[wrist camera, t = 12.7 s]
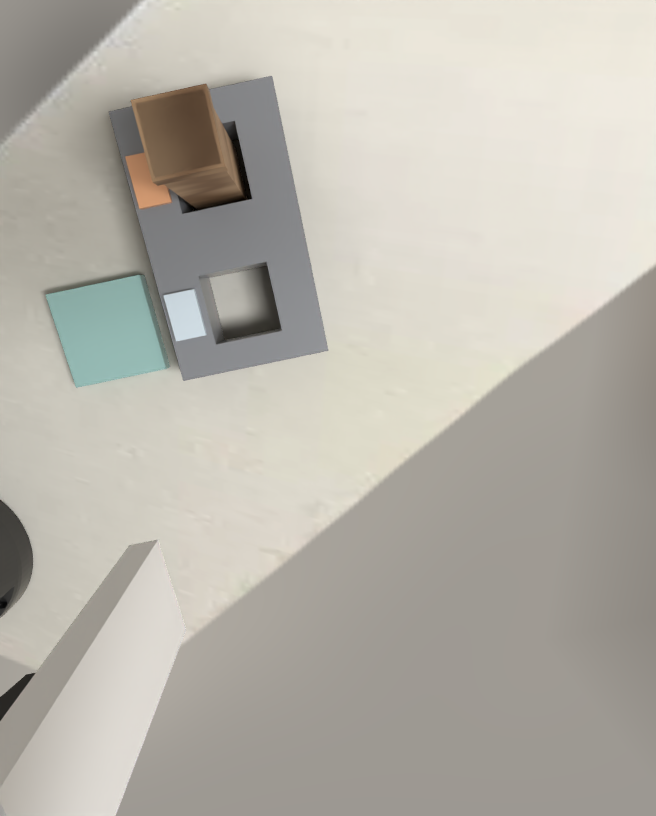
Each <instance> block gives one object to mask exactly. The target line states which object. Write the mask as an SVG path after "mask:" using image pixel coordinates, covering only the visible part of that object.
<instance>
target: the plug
mask: <svg viewBox="0 0 656 816" xmlns="http://www.w3.org/2000/svg"><path fill="white" fill-rule="evenodd" d="M131 103H132V107H133V111H134V115H135V118H136V122H137V126H138V130H139V133H140V137H141V141H142V145H143V148H144V152H145V156H146V160H147V163H148V167H149V171H150V175H151V178H152V182H153V183H155V184H156V185H157V186H159V185H163V184H164V185H165V186H167V187H168V188H169V189H171V190H172V191H173V192H175V193H176V194H177V195H179V196H180V197H181V198H183V199H184V200H185V201H187V202H188V203H190V204H191V205H192V206H194V207H195V208H196V209H198V210H203V209H208V208H213V207H217V206H222V205H227V204H231V203H236V202H241V201H245V200H247V196H246V192H245V187H244V183H243V178H242V174H241V170H240V165H239V161H238V156H237V152H236V149H235V147H234V145H233V143H232V141H231V139H230V138H229V136H228V134H227V132H226V130H225V128H224V126H223V124H222V122H221V121H220V119H219V117H218V115H217V113H216V111H215V109H214V107H213V103H212V99H211V95H210V91H209V89H208V87H207V85H206V84H202V85H198V86H193V87H188V88H184V89H179V90H175V91H170V92H166V93H161V94H157V95H152V96H147V97H143V98H138V99H134V100H131Z"/></svg>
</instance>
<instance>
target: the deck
mask: <svg viewBox="0 0 656 816" xmlns="http://www.w3.org/2000/svg"><path fill="white" fill-rule="evenodd" d="M46 298H47V301H48V304H49V307H50V310H51V313H52V316H53V319H54V322H55V325H56V328H57V331H58V334H59V337H60V340H61V343H62V346H63V349H64V352H65V355H66V358H67V361H68V364H69V367H70V371H71V374H72V377H73V380H74V383H75V386H76V388H77V387H82V386H87V385H91V384H96V383H101V382H106V381H111V380H115V379H120V378H125V377H130V376H134V375H139V374H144V373H149V372H154V371H158V370H163V369H167V368H169V367H170V365H169V361H168V358H167V354H166V350H165V347H164V343H163V340H162V336H161V333H160V329H159V326H158V322H157V319H156V315H155V312H154V308H153V304H152V301H151V297H150V294H149V290H148V287H147V283H146V280H145V276H144V275H136V276H131V277H126V278H122V279H117V280H112V281H107V282H103V283H98V284H93V285H89V286H84V287H79V288H75V289H70V290H65V291H61V292H56V293H51V294H46Z"/></svg>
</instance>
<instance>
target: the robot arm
mask: <svg viewBox="0 0 656 816" xmlns="http://www.w3.org/2000/svg"><path fill="white" fill-rule="evenodd" d="M32 568H33V556H32V549H31V545H30V541H29V538H28V536H27V534H26V531H25V529H24V528H23V526H22V524H21V523H20V521H19V520H18V518H17V517H16V516H15V515H14V513H13V512H12V511H11V510H10V509H9V508H8V507H7V506H6V505H5V504H4V503H2V502H1V501H0V618H1V617H2V616H3V615H4V614H5V613H6V612H7V611H8V610H9V609H10V608H11V607H12V606H13V605H14V604H15V603H16V602H17V601H18V600H19V599H20V598H21V596H22V595H23V593H24V592H25V590H26V588H27V586H28V584H29V581H30V578H31V574H32ZM185 632H186V627H185V624H184V621H183V617H182V614H181V611H180V608H179V605H178V602H177V598H176V595H175V592H174V589H173V586H172V582H171V579H170V576H169V573H168V570H167V567H166V563H165V560H164V557H163V554H162V551H161V547H160V544H159V541H158V540H154V541H149V542H144V543H139V544H134V545H129V547H128V548H127V549H126V551H125V552H124V554H123V555H122V556H121V558H120V559H119V560H118V562H117V563H116V564H115V566H114V567H113V569H112V570H111V571H110V573H109V574H108V575H107V577H106V578H105V579H104V581H103V582H102V584H101V585H100V586H99V588H98V589H97V590H96V592H95V593H94V594H93V596H92V597H91V598H90V600H89V601H88V603H87V604H86V605H85V607H84V608H83V609H82V611H81V612H80V613H79V615H78V616H77V618H76V619H75V620H74V622H73V623H72V624H71V626H70V627H69V628H68V630H67V631H66V632H65V634H64V635H63V637H62V638H61V639H60V641H59V642H58V643H57V645H56V646H55V647H54V649H53V650H52V652H51V653H50V654H49V656H48V657H47V658H46V660H45V661H44V662H43V664H42V665H41V667H40V668H39V669H38V671H37V672H36V673H32V674H27V675H25V676H24V677H23V678H22V679H21V680H20V681H18V682H17V683H16V684H15V685H14V686H13V687H12V688H10V689H9V690H8V691H7V692H6V693H5V694H4V695H2V696H1V697H0V816H116V813H117V810H118V808H119V805H120V802H121V800H122V797H123V794H124V792H125V789H126V787H127V784H128V781H129V779H130V776H131V773H132V771H133V768H134V766H135V763H136V760H137V758H138V755H139V752H140V750H141V747H142V745H143V742H144V739H145V737H146V734H147V731H148V729H149V726H150V724H151V721H152V718H153V716H154V713H155V710H156V708H157V705H158V702H159V700H160V697H161V695H162V691H163V689H164V687H165V684H166V681H167V679H168V676H169V674H170V671H171V668H172V666H173V663H174V660H175V658H176V655H177V653H178V650H179V647H180V645H181V642H182V639H183V637H184V634H185Z"/></svg>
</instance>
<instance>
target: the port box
mask: <svg viewBox="0 0 656 816" xmlns="http://www.w3.org/2000/svg"><path fill="white" fill-rule="evenodd" d="M209 91H210V95H211V99H212V103H213V107H214V109H215V111H216V113H217V115H218V117H219V119H220V121H221V122H222V124H223V126H224V128H225V130H226V132H227V134H228V136H229V138H230V139H231V140H236V139H239V142H240V146H241V151H242V155H243V160H244V164H245V168H246V173H247V177H248V182H249V186H250V191H251V195H252V199H250V200H245V201H241V202H236V203H231V204H227V205H222V206H217V207H213V208H208V209H203V210H199V211H194V212H192V209H191V205H190V203H188V202H187V201H185V200H184V199H183V198H181V197H180V196H179V195H177V194H176V193H175V192H173V191H172V190H171V189H169V188H168V187H167V186H165V185H164V184H163V185H159V186H157V185H156V184H155V183H153V182H152V178H151V175H150V171H149V167H148V163H147V160H146V156H145V152H144V148H143V145H142V141H141V137H140V133H139V130H138V126H137V122H136V118H135V115H134V111H133V107H127V108H123V109H118V110H114V111H109V115H110V119H111V122H112V126H113V130H114V133H115V137H116V140H117V144H118V148H119V151H120V155H121V158H122V162H123V166H124V169H125V173H126V176H127V180H128V183H129V187H130V191H131V194H132V198H133V201H134V205H135V209H136V212H137V216H138V219H139V223H140V227H141V230H142V234H143V237H144V241H145V245H146V248H147V252H148V255H149V259H150V263H151V266H152V270H153V273H154V277H155V281H156V284H157V288H158V291H159V295H160V299H161V302H162V306H163V309H164V313H165V317H166V320H167V324H168V327H169V331H170V335H171V338H172V342H173V345H174V349H175V353H176V356H177V360H178V363H179V367H180V370H181V374H182V378H183V381H185V380H190V379H195V378H200V377H205V376H209V375H214V374H219V373H224V372H228V371H233V370H238V369H243V368H248V367H252V366H257V365H262V364H267V363H272V362H276V361H281V360H286V359H291V358H296V357H300V356H305V355H310V354H315V353H320V352H324V351H328V346H327V342H326V337H325V332H324V327H323V322H322V317H321V312H320V307H319V302H318V298H317V293H316V288H315V283H314V278H313V273H312V268H311V263H310V259H309V254H308V249H307V244H306V239H305V234H304V229H303V224H302V220H301V215H300V210H299V205H298V200H297V195H296V190H295V185H294V181H293V176H292V171H291V166H290V161H289V156H288V151H287V146H286V141H285V137H284V132H283V127H282V122H281V117H280V112H279V107H278V102H277V98H276V93H275V88H274V83H273V78H272V76H269V77H264V78H260V79H255V80H250V81H246V82H241V83H237V84H232V85H228V86H223V87H218V88H214V89H209ZM263 266H268V271H269V275H270V280H271V284H272V289H273V293H274V297H275V302H276V306H277V311H278V315H279V320H280V324H281V328H280V329H276V330H271V331H266V332H261V333H257V334H252V335H247V336H242V337H238V338H233V339H228V340H225V339H224V335H223V331H222V327H221V323H220V319H219V315H218V311H217V307H216V303H215V299H214V296H213V292H212V288H211V284H210V280H209V278H211V277H216V276H220V275H225V274H230V273H234V272H239V271H244V270H249V269H253V268H258V267H263Z"/></svg>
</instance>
